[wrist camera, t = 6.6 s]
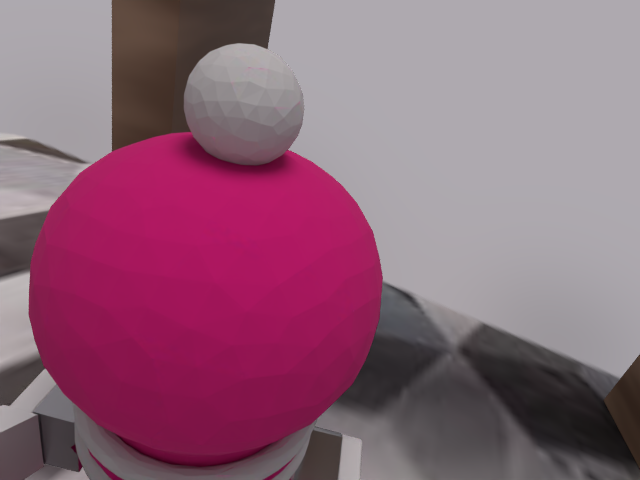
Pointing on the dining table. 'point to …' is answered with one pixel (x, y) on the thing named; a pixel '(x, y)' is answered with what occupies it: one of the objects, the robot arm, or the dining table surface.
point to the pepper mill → (206, 288)
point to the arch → (170, 83)
